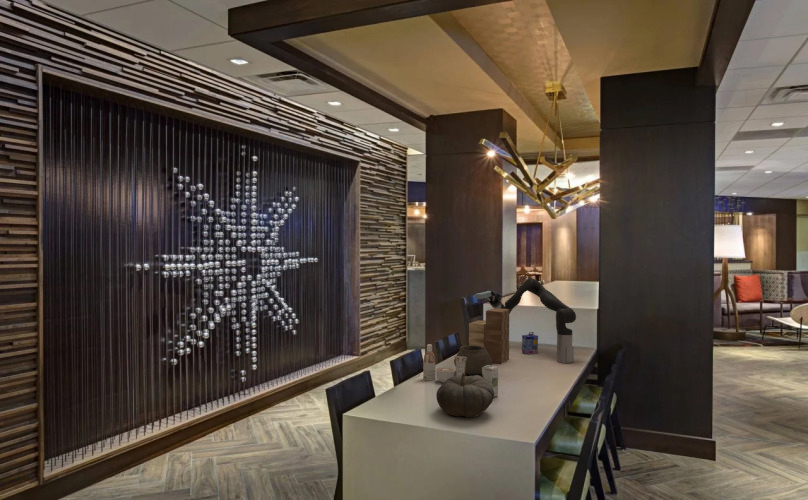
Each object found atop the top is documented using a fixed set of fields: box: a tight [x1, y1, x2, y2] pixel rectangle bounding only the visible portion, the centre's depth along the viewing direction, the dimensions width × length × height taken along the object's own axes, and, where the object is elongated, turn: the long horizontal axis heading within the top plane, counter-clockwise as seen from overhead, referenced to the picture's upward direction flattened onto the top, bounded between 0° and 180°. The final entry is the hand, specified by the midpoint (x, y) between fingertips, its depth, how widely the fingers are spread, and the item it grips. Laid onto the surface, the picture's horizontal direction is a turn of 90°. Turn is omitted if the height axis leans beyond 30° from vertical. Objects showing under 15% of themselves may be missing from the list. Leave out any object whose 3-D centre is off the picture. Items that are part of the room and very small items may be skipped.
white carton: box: [481, 364, 499, 398], centre depth 260 cm, size 6×6×14 cm
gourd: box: [436, 373, 495, 418], centre depth 234 cm, size 25×25×17 cm
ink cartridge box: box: [521, 331, 539, 355], centre depth 364 cm, size 10×6×14 cm, turn 115°
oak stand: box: [468, 319, 486, 348], centre depth 355 cm, size 18×10×22 cm, turn 152°
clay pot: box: [453, 344, 493, 376], centre depth 305 cm, size 22×21×15 cm
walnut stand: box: [485, 307, 510, 365], centre depth 340 cm, size 16×10×32 cm, turn 152°
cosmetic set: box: [422, 343, 467, 384], centre depth 288 cm, size 25×9×19 cm, turn 60°
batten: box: [474, 290, 495, 300], centre depth 360 cm, size 26×4×3 cm, turn 151°
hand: (488, 291), depth 366 cm, fingers closed on batten, 4 cm apart
